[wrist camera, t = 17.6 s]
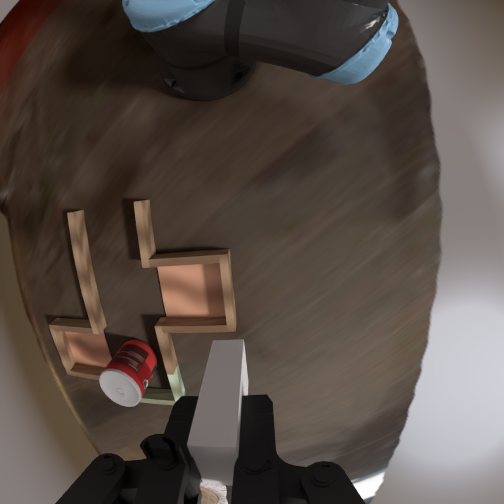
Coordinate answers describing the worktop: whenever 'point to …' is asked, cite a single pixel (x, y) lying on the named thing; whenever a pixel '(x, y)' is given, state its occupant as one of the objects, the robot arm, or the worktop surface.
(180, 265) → the channel
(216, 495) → the cookie jar
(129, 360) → the canned food
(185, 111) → the worktop surface
